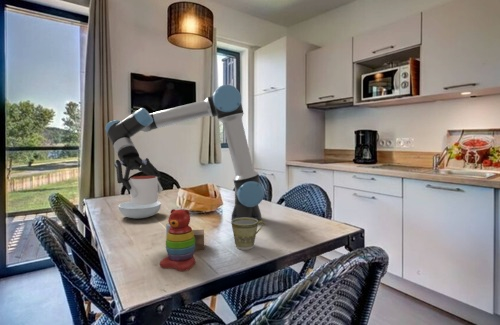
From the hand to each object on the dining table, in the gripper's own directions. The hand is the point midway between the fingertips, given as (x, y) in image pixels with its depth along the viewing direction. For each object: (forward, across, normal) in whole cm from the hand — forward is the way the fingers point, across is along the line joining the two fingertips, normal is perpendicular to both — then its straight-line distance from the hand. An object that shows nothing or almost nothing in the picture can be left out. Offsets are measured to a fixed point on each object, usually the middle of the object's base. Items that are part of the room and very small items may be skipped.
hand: (148, 193), depth 112 cm
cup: (+1, 0, -5) cm, 5 cm away
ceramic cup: (+36, -23, +7) cm, 43 cm away
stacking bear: (+31, +3, +2) cm, 31 cm away
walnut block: (+26, -9, -2) cm, 27 cm away
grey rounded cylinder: (+17, -8, -11) cm, 22 cm away
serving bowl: (-15, -19, -43) cm, 49 cm away
